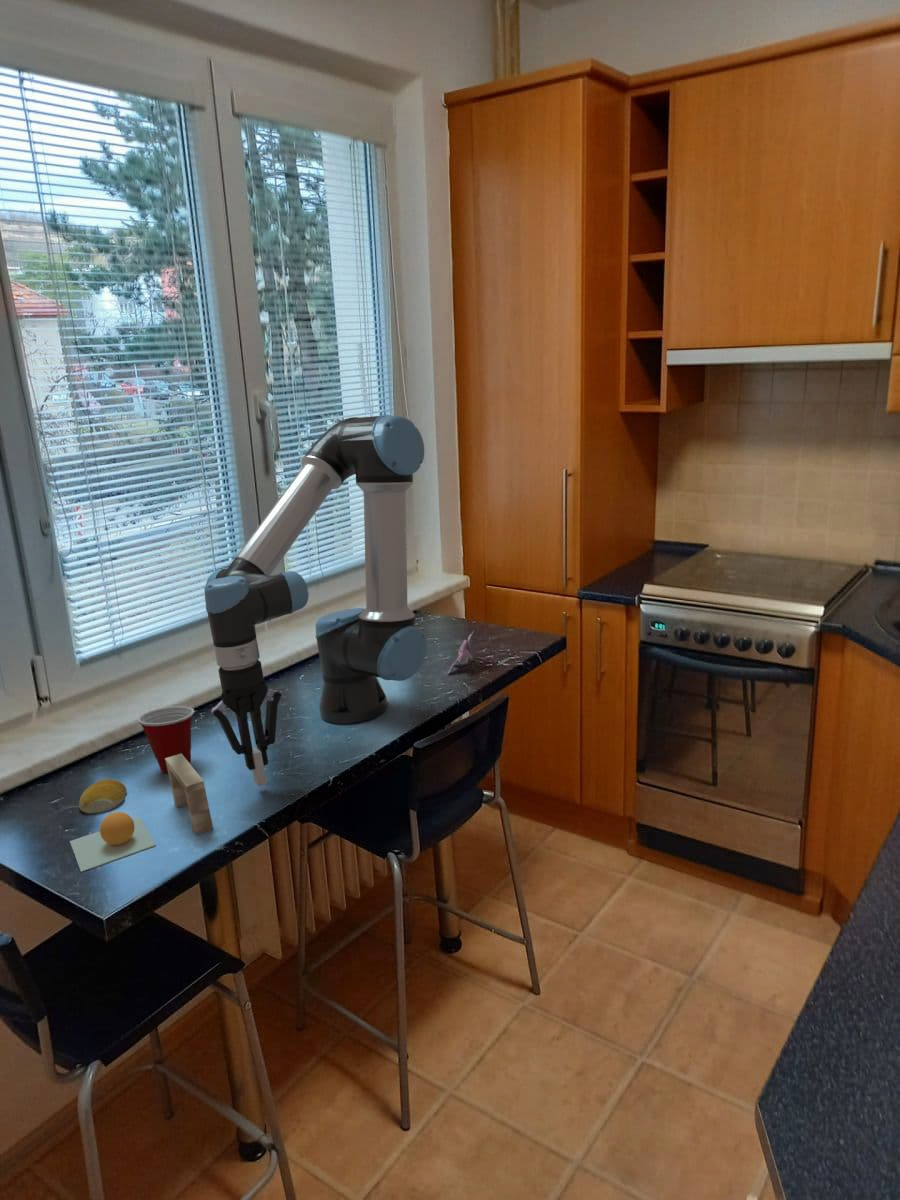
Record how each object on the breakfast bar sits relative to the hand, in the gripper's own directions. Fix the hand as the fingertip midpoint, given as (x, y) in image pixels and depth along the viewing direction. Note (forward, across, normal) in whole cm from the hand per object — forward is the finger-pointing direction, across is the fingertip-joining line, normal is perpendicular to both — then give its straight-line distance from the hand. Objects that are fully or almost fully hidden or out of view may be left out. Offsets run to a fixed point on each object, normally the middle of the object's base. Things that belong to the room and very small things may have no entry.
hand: (260, 782), depth 160 cm
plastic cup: (+2, -10, +23) cm, 25 cm away
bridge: (+2, -13, 0) cm, 13 cm away
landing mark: (+2, -27, 0) cm, 27 cm away
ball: (-1, -26, -1) cm, 26 cm away
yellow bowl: (+2, -25, +18) cm, 31 cm away
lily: (+2, +62, +27) cm, 68 cm away
